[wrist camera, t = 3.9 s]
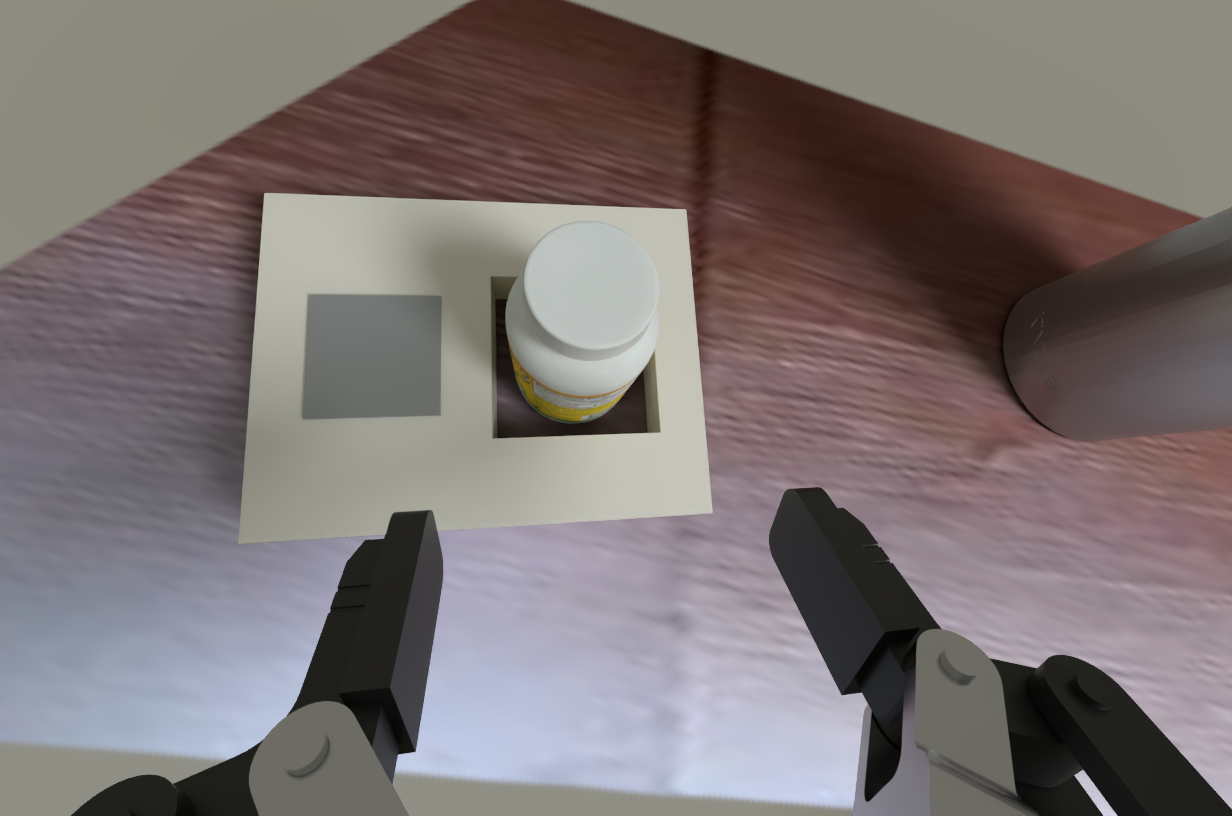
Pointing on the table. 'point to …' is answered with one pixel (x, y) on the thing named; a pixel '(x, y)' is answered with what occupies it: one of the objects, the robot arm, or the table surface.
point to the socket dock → (442, 375)
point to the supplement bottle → (582, 320)
